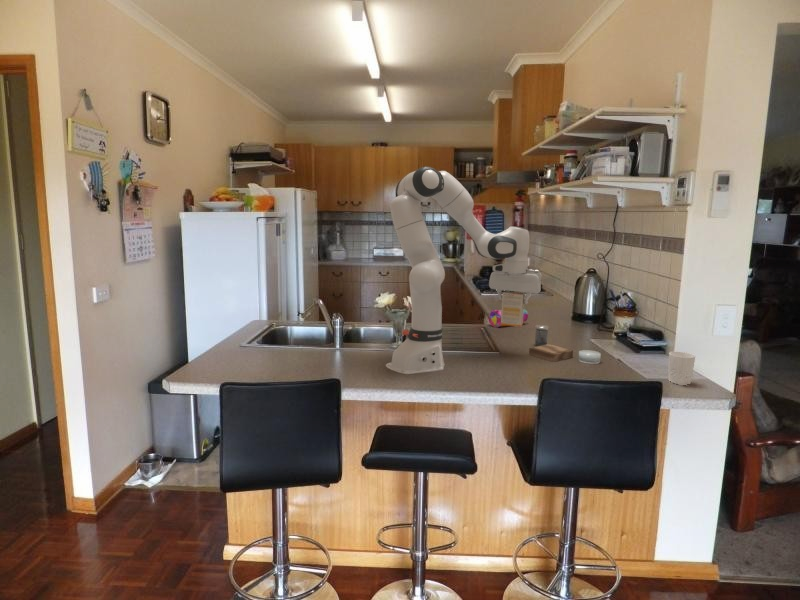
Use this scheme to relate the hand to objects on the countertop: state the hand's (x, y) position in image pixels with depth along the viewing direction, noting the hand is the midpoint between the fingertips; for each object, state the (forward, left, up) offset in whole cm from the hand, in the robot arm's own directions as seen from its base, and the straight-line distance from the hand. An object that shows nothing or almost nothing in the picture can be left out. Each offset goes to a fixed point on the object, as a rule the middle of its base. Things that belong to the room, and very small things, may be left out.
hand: (513, 302), depth 209 cm
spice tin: (+21, +2, -22) cm, 30 cm away
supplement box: (0, 0, -9) cm, 9 cm away
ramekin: (+18, -24, -22) cm, 37 cm away
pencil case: (+42, +40, -22) cm, 62 cm away
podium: (+11, -11, -22) cm, 27 cm away
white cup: (+21, -57, -22) cm, 65 cm away
